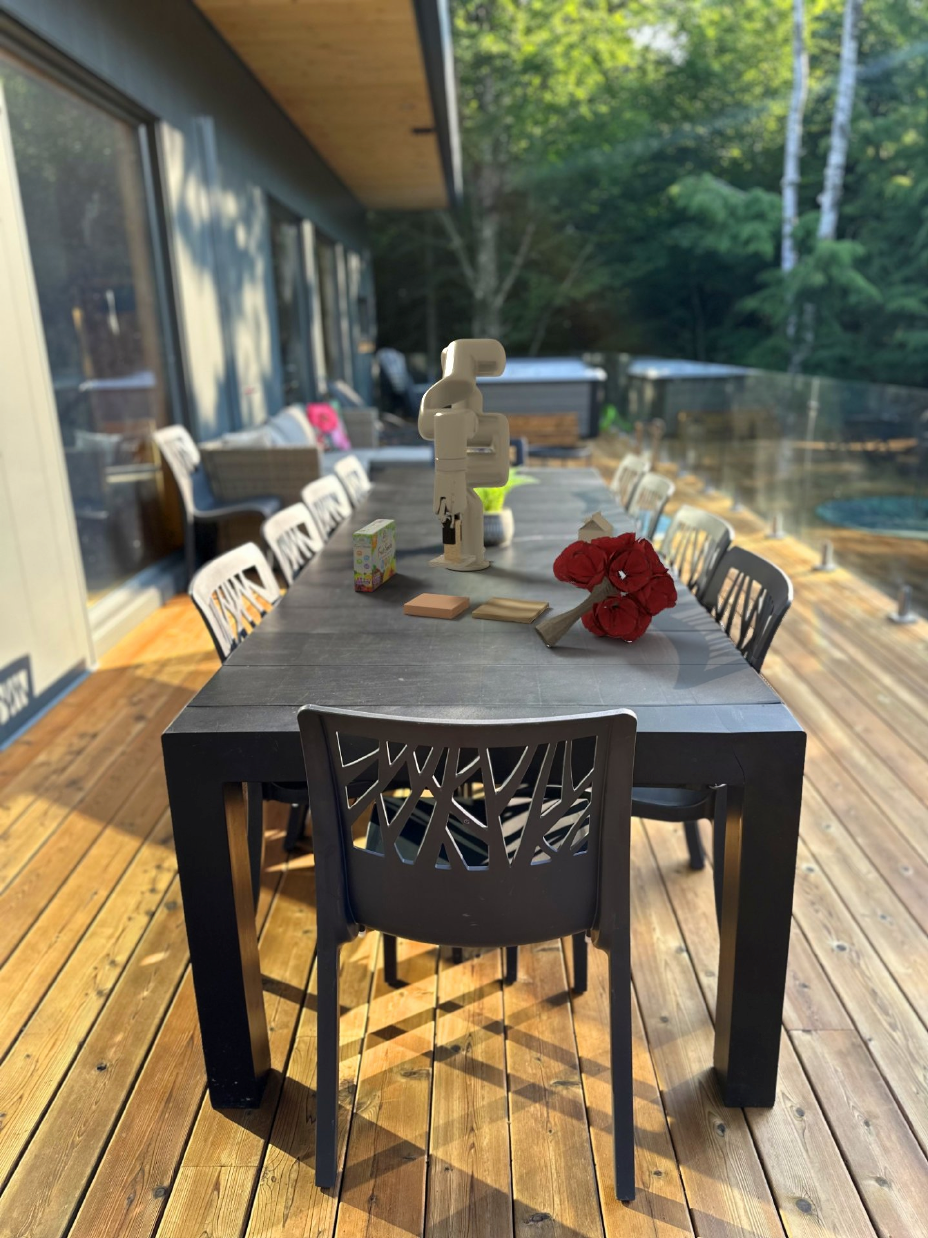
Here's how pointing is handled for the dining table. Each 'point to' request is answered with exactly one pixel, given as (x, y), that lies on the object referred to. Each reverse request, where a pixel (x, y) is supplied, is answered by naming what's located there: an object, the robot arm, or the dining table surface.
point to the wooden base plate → (510, 610)
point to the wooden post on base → (453, 554)
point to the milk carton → (595, 528)
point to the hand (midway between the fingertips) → (452, 541)
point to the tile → (436, 605)
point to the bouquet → (612, 588)
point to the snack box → (374, 554)
